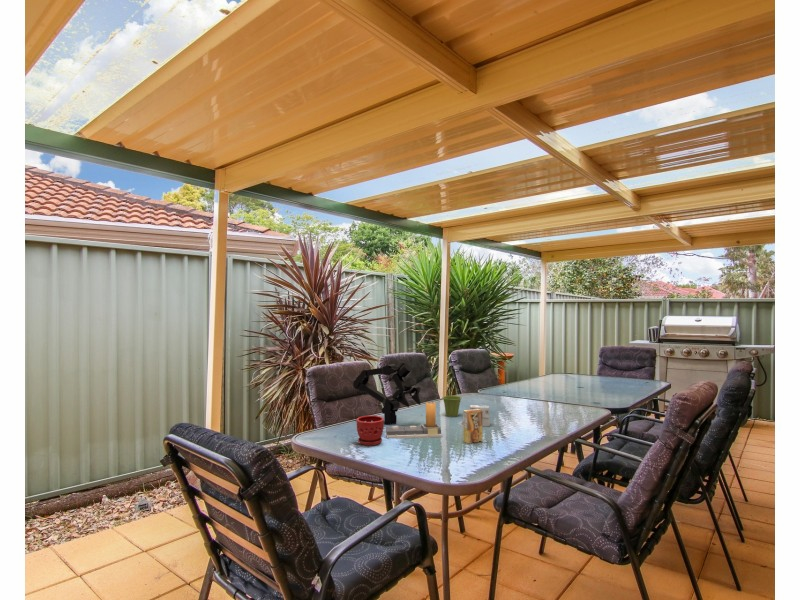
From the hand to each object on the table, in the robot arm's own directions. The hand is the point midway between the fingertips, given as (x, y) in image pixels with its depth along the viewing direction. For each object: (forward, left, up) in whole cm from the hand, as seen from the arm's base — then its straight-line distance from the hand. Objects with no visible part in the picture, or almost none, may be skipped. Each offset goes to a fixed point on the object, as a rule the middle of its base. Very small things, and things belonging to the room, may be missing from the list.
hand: (414, 405), depth 248 cm
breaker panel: (-3, -14, -12) cm, 19 cm away
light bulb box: (+37, +3, -13) cm, 40 cm away
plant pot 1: (-26, -27, -13) cm, 39 cm away
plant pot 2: (+27, +29, -13) cm, 42 cm away
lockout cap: (+6, -14, -9) cm, 18 cm away
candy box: (+24, -30, -13) cm, 41 cm away
